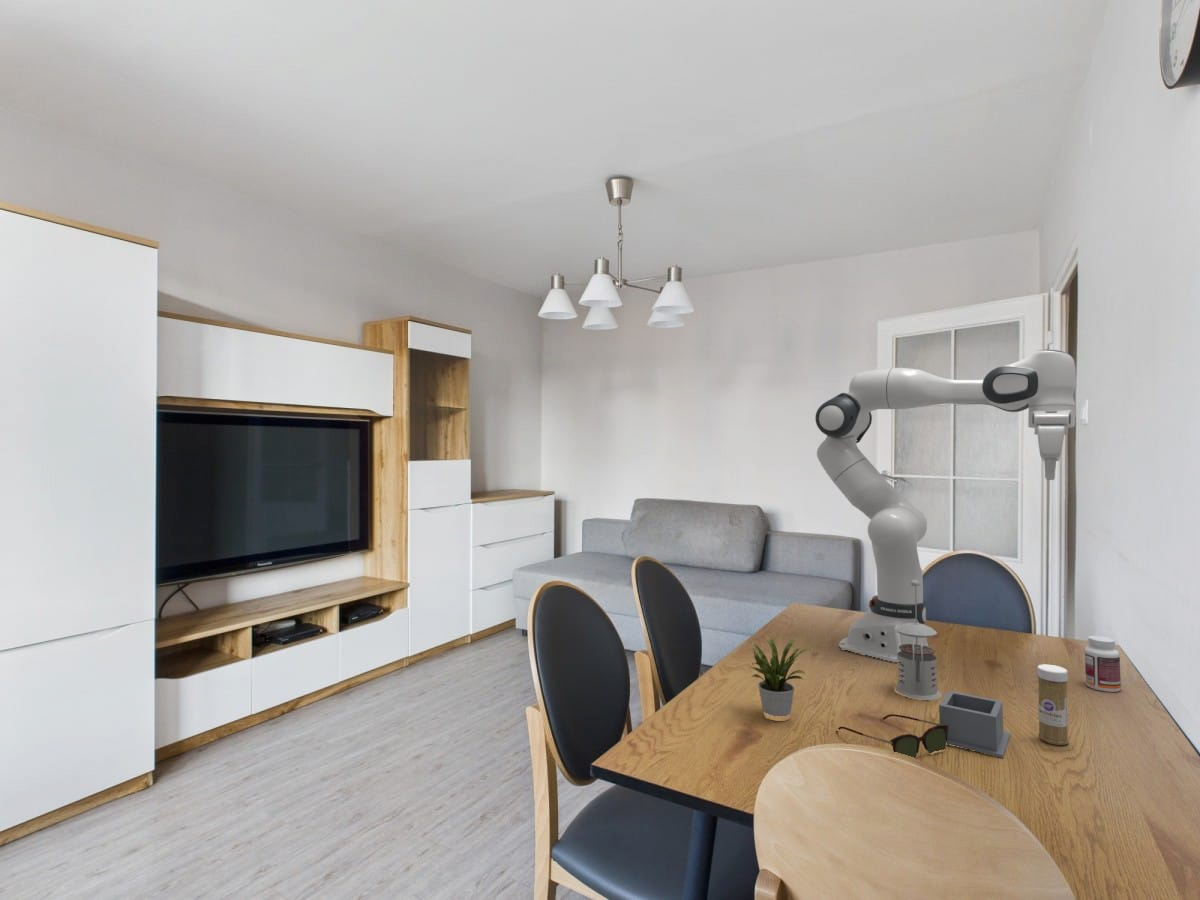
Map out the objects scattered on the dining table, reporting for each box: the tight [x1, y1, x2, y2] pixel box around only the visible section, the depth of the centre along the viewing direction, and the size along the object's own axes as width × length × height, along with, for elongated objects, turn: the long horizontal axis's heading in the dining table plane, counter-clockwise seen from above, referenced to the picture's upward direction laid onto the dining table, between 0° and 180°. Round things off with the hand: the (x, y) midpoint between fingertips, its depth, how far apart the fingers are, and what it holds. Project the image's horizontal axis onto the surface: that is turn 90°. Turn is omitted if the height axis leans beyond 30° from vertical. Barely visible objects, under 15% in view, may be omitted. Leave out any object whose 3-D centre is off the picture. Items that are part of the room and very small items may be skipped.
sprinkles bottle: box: [1036, 663, 1069, 746], centre depth 116 cm, size 5×5×13 cm
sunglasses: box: [837, 713, 949, 759], centre depth 117 cm, size 14×15×5 cm
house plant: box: [747, 635, 816, 716], centre depth 129 cm, size 14×14×16 cm
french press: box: [894, 580, 943, 700], centre depth 139 cm, size 10×12×25 cm
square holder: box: [938, 690, 1011, 759], centre depth 117 cm, size 11×11×7 cm
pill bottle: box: [1084, 635, 1122, 693], centre depth 141 cm, size 6×6×11 cm
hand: (1050, 479), depth 145 cm, fingers open, 8 cm apart
